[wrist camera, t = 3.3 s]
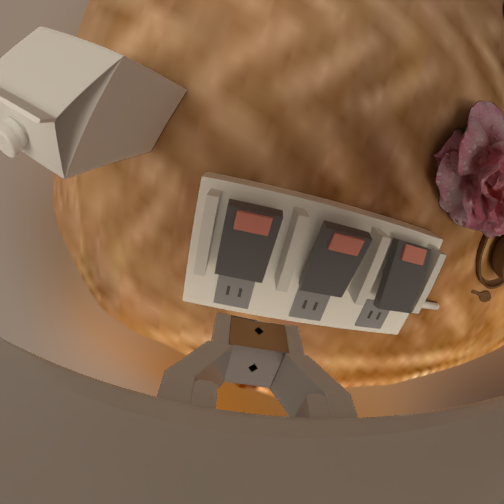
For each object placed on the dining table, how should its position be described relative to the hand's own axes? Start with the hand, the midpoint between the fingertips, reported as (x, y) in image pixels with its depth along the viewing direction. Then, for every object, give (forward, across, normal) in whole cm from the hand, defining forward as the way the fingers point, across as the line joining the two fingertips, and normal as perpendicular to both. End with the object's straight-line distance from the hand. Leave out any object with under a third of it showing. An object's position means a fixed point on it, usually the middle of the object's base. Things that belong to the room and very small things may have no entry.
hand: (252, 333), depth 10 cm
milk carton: (+20, +13, -8) cm, 25 cm away
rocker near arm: (+16, -16, +3) cm, 23 cm away
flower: (+20, -24, -12) cm, 33 cm away
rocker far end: (+16, 0, +2) cm, 16 cm away
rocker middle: (+16, -8, +2) cm, 18 cm away
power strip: (+20, -12, +4) cm, 23 cm away
